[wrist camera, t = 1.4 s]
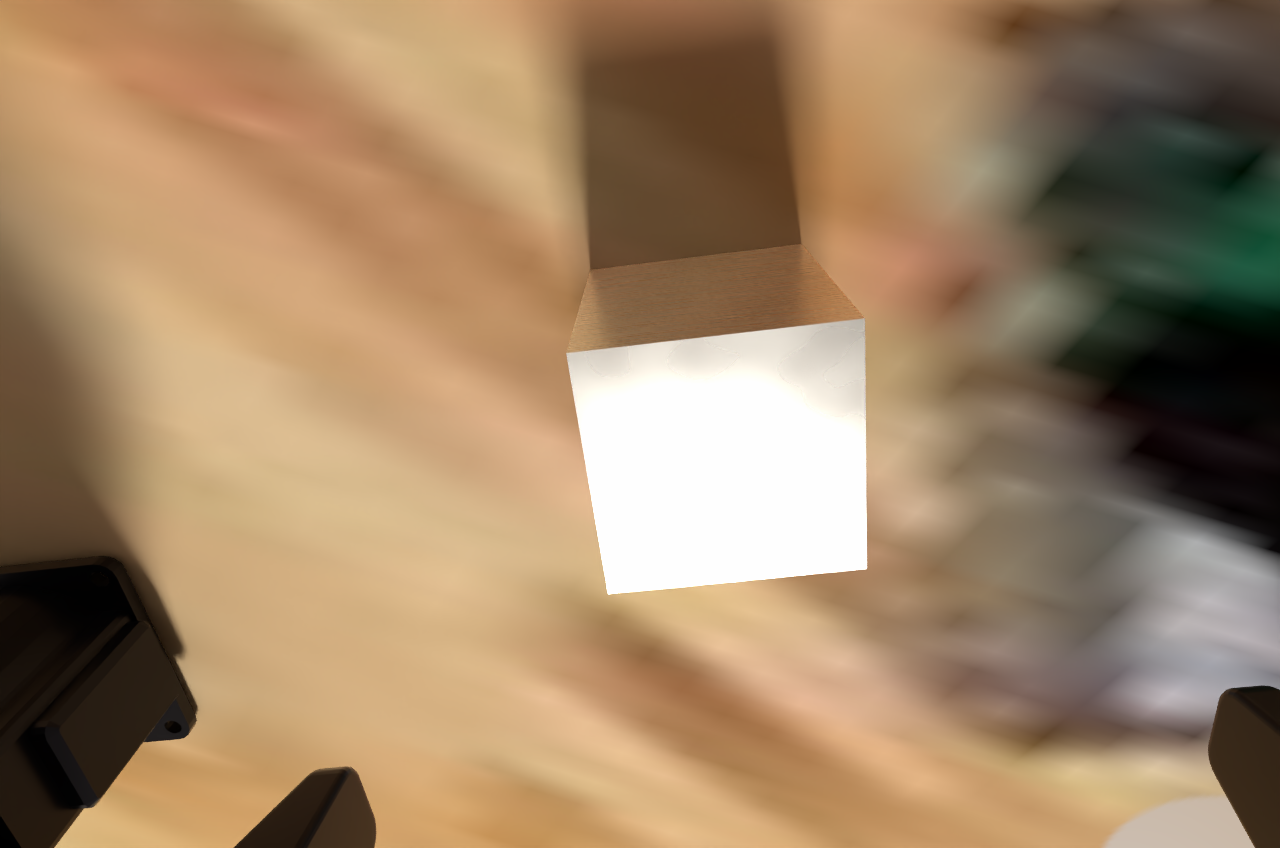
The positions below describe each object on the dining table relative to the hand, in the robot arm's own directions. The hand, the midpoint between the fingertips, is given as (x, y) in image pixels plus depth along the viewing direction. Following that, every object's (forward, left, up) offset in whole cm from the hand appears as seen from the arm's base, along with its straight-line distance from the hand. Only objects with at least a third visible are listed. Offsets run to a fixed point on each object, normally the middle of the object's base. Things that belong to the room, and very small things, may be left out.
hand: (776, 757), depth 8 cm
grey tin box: (0, 0, -13) cm, 13 cm away
